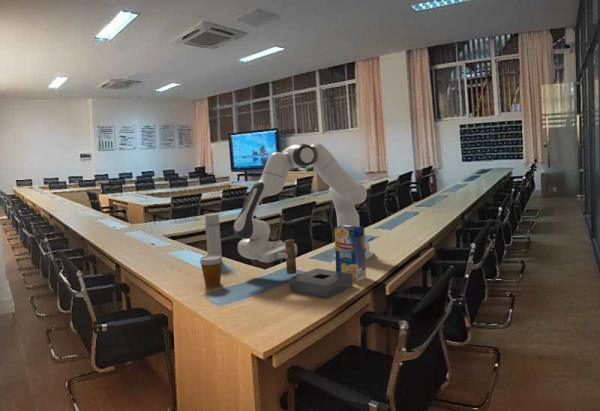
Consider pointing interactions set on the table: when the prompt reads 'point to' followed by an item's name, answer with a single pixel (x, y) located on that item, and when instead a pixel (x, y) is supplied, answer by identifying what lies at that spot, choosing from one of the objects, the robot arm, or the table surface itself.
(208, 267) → the disposable coffee cup
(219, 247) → the water bottle
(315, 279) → the socket block
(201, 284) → the table surface
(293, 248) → the walnut pin
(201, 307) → the table surface
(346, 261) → the beverage box
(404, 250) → the table surface
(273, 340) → the table surface
